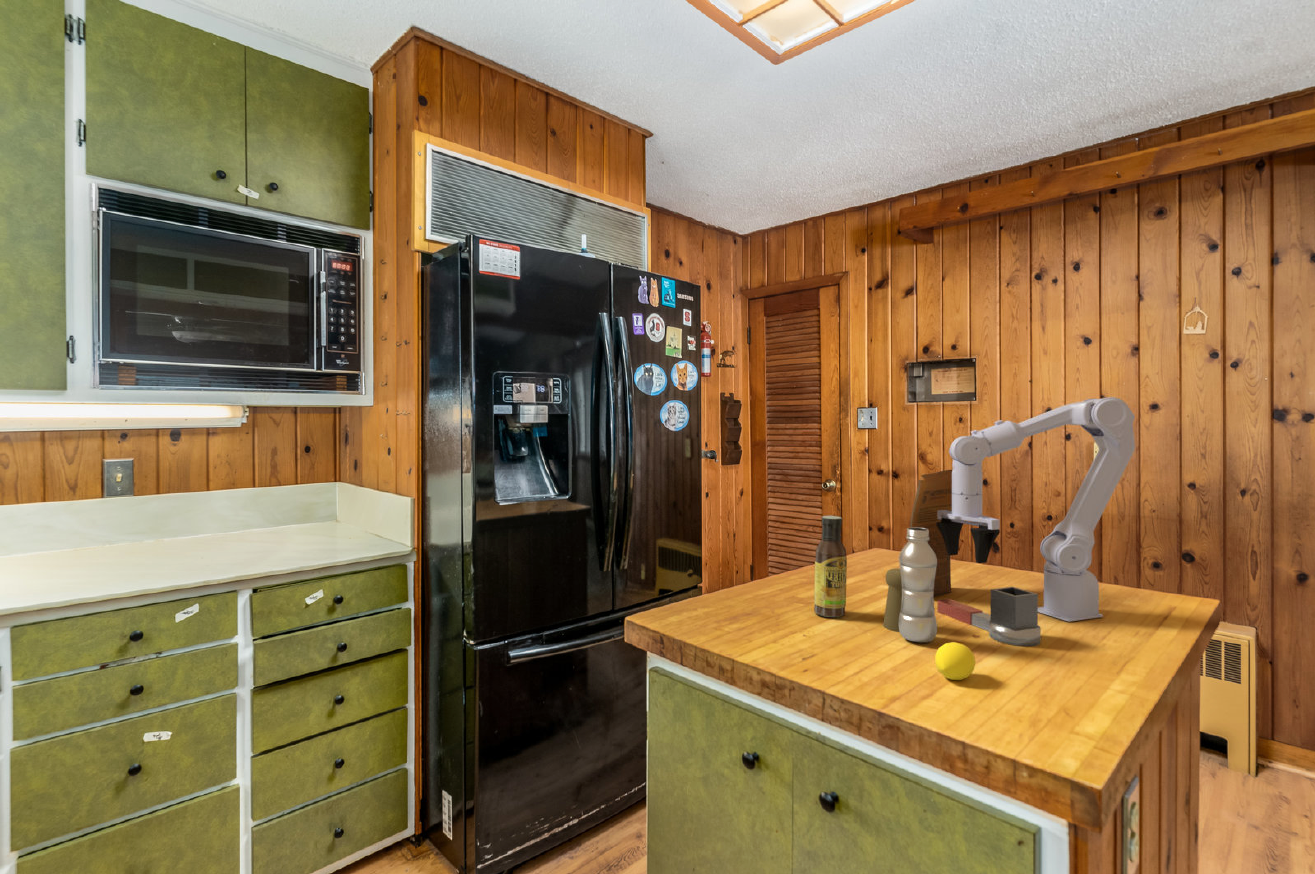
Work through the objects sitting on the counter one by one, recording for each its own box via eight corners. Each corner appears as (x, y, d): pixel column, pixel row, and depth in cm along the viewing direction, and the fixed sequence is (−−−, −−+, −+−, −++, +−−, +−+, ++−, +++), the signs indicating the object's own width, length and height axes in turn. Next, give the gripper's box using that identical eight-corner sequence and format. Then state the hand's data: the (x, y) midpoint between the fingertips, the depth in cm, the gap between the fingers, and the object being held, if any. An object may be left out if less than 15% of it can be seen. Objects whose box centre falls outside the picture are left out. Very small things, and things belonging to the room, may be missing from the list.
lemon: (962, 692, 91) (960, 657, 90) (927, 680, 95) (925, 647, 95) (984, 674, 95) (982, 640, 95) (950, 663, 99) (948, 631, 99)
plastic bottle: (935, 635, 113) (935, 526, 113) (939, 648, 107) (939, 533, 106) (897, 632, 115) (897, 525, 115) (898, 644, 109) (899, 531, 108)
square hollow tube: (1012, 618, 115) (1012, 586, 115) (1037, 627, 110) (1037, 593, 110) (990, 621, 113) (990, 589, 113) (1015, 630, 108) (1015, 596, 108)
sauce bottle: (827, 620, 122) (827, 520, 122) (807, 611, 128) (807, 515, 127) (853, 616, 125) (853, 518, 124) (833, 608, 130) (833, 513, 130)
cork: (920, 633, 115) (920, 574, 114) (885, 631, 116) (885, 572, 116) (913, 622, 121) (913, 566, 120) (880, 620, 122) (880, 565, 122)
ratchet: (958, 609, 129) (958, 582, 129) (1051, 643, 109) (1051, 612, 109) (927, 613, 126) (927, 586, 126) (1016, 648, 107) (1016, 616, 106)
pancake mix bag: (969, 590, 143) (969, 469, 142) (920, 604, 132) (920, 473, 132) (941, 584, 149) (942, 467, 148) (892, 597, 138) (893, 471, 137)
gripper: (926, 490, 135) (925, 553, 135) (980, 498, 121) (979, 567, 121) (952, 489, 137) (951, 550, 137) (1007, 496, 123) (1007, 564, 123)
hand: (966, 558), depth 129 cm, fingers open, 7 cm apart
